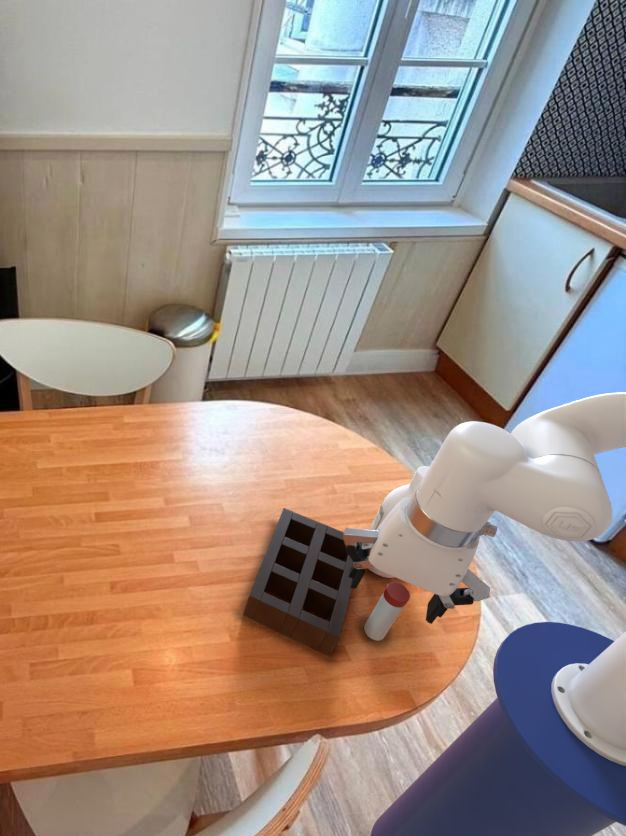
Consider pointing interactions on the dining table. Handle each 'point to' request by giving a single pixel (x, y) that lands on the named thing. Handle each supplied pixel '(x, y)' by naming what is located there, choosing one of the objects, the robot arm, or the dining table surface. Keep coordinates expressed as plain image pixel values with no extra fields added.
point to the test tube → (386, 611)
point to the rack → (303, 582)
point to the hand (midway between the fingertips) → (391, 596)
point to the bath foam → (391, 502)
